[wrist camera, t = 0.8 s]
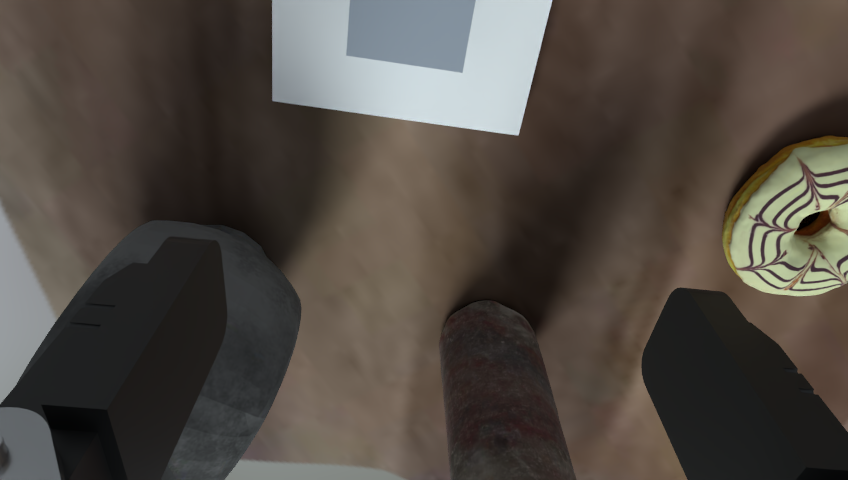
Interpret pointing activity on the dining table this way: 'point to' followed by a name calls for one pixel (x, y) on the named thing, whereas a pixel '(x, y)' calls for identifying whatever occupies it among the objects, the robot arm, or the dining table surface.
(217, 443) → the pitcher
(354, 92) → the white flat square slab
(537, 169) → the dining table surface
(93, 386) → the robot arm
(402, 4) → the slate block
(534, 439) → the brown cylinder
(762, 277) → the decorated donut
